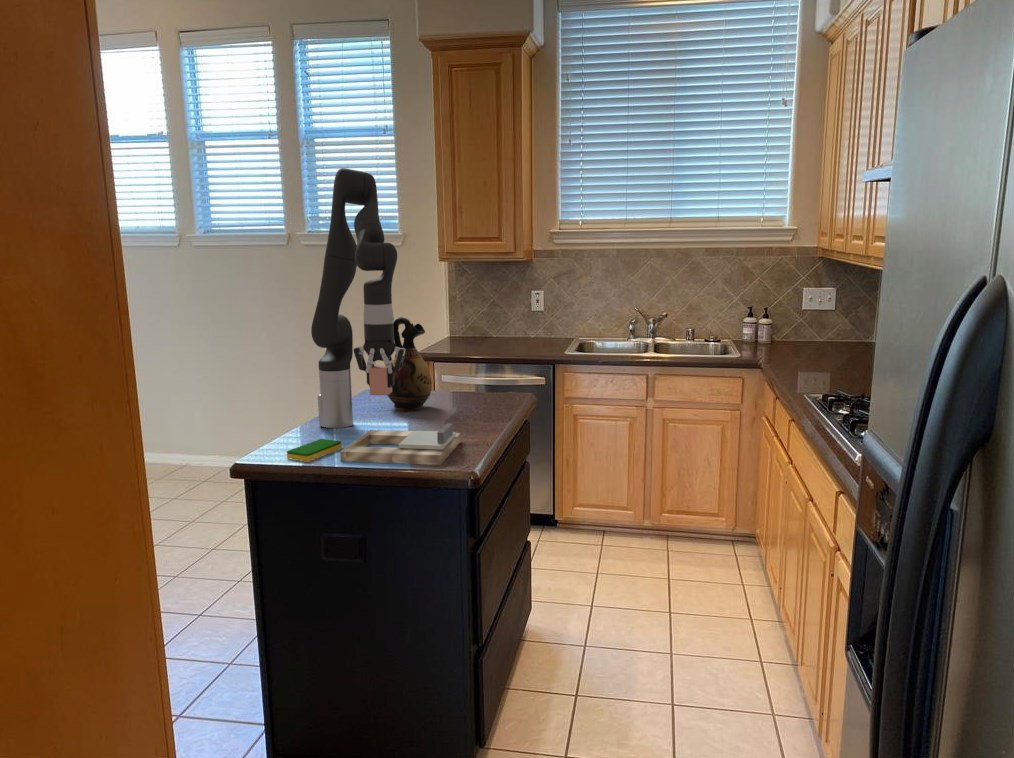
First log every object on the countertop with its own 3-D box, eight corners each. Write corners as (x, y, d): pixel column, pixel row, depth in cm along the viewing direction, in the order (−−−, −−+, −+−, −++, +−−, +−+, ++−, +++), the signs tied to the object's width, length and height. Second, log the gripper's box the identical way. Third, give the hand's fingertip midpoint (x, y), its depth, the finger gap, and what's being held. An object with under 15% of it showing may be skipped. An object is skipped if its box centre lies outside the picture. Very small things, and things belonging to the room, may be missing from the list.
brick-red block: (370, 395, 194) (368, 368, 193) (376, 391, 198) (374, 365, 197) (386, 395, 193) (385, 368, 192) (392, 392, 198) (391, 365, 196)
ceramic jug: (442, 406, 251) (439, 317, 246) (412, 415, 238) (409, 321, 233) (403, 401, 260) (400, 314, 255) (372, 409, 247) (368, 319, 242)
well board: (340, 461, 189) (340, 451, 188) (370, 438, 210) (370, 430, 210) (440, 465, 184) (440, 455, 184) (461, 441, 206) (460, 433, 205)
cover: (398, 448, 190) (398, 433, 189) (414, 434, 203) (413, 420, 203) (442, 449, 188) (442, 434, 187) (455, 435, 202) (455, 421, 201)
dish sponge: (342, 449, 201) (342, 441, 200) (308, 463, 189) (307, 454, 188) (321, 446, 204) (321, 438, 204) (286, 460, 192) (285, 451, 191)
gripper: (346, 322, 190) (349, 388, 193) (400, 323, 188) (403, 390, 191) (357, 319, 197) (360, 383, 200) (409, 320, 195) (411, 384, 198)
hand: (381, 386), depth 195 cm, fingers closed on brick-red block, 4 cm apart
